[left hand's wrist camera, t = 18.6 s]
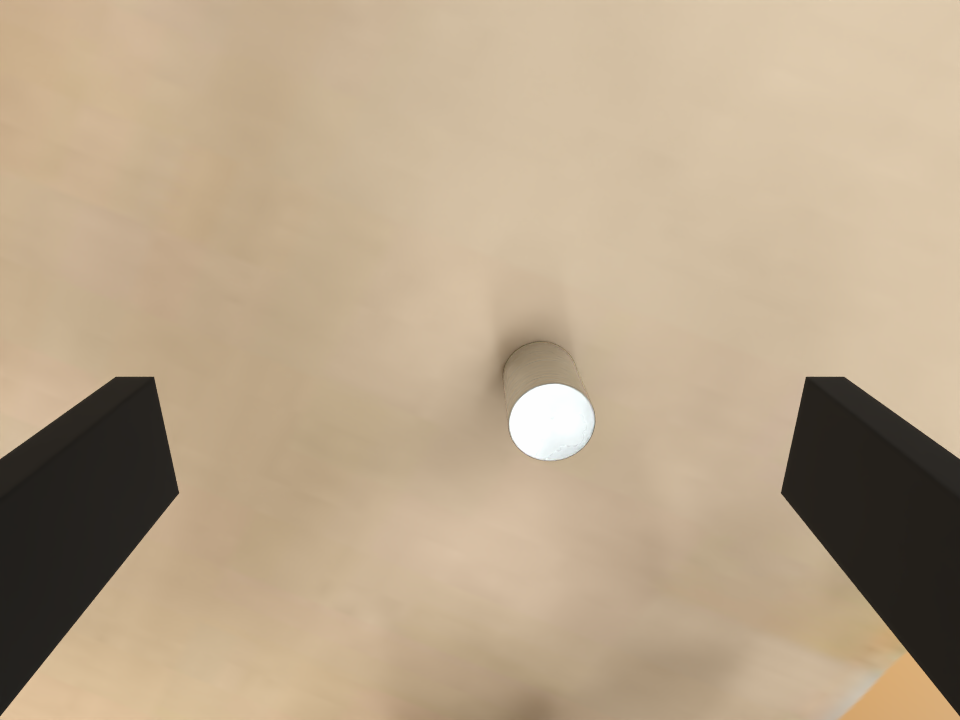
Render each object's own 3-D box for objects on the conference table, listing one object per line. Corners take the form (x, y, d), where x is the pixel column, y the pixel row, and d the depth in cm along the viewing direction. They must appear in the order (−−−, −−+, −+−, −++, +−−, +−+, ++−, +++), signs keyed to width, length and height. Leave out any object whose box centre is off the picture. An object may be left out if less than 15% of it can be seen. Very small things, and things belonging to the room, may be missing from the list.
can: (488, 370, 29) (490, 416, 24) (548, 326, 28) (562, 366, 23) (531, 422, 30) (542, 476, 25) (590, 381, 29) (612, 430, 24)
